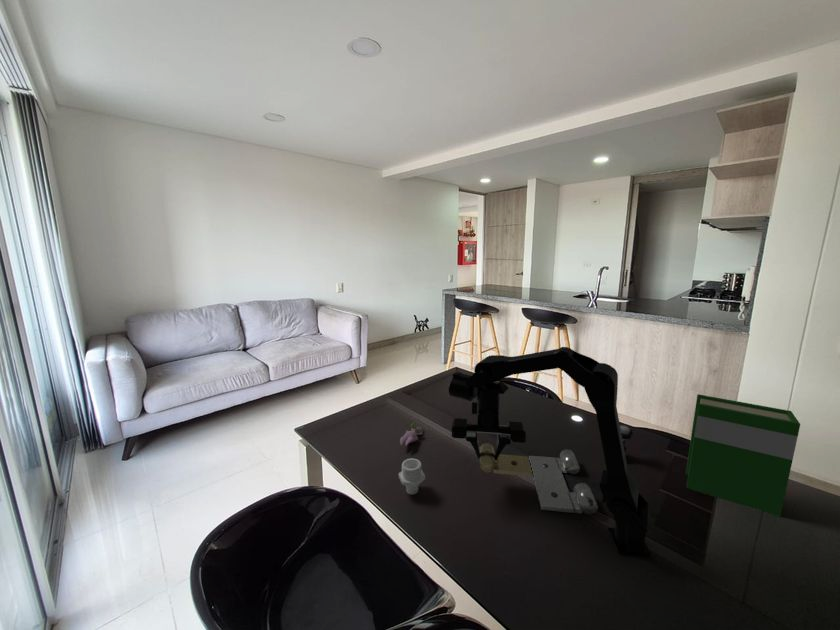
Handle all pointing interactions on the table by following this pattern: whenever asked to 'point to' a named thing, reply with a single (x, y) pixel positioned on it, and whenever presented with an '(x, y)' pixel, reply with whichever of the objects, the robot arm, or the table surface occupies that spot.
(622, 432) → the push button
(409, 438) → the purple flower
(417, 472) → the pipe fitting
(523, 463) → the brass hinge leaf
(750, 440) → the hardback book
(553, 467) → the steel hinge leaf
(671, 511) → the table surface
